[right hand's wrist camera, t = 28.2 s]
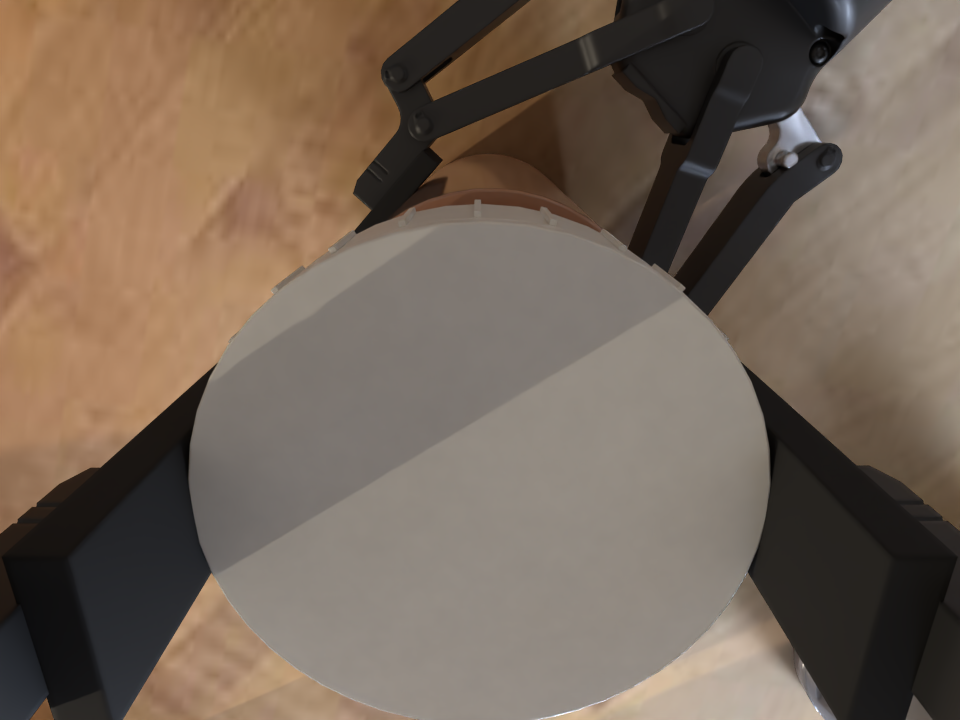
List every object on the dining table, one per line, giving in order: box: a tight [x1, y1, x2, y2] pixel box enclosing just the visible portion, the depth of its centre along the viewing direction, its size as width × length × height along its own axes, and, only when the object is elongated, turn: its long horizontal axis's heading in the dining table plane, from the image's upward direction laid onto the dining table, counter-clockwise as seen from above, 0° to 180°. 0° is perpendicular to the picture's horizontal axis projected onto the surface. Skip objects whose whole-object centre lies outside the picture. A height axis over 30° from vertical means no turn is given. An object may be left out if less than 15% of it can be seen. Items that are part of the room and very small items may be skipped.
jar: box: [386, 154, 602, 233], centre depth 23 cm, size 9×9×19 cm
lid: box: [188, 200, 771, 720], centre depth 11 cm, size 10×10×2 cm
